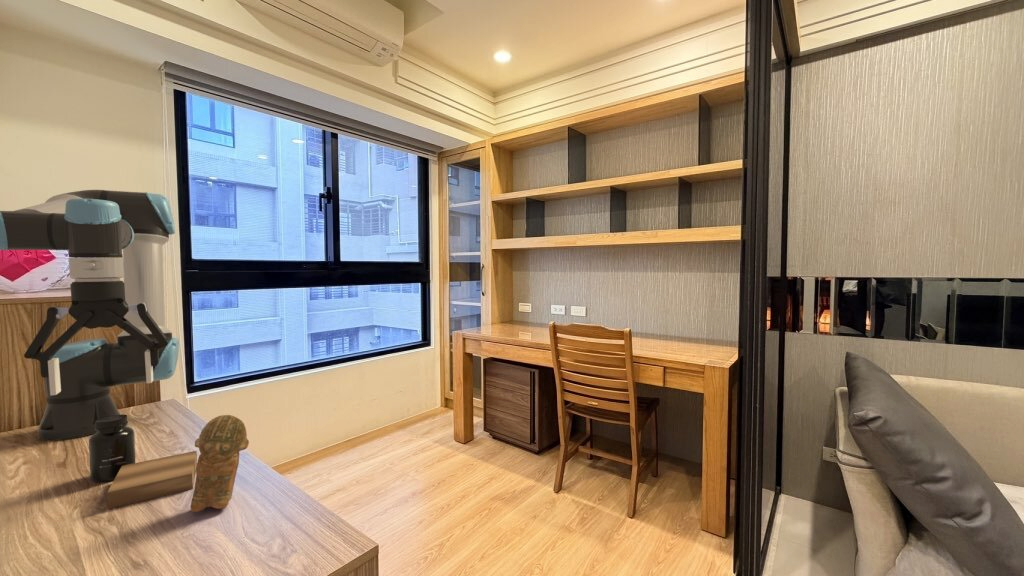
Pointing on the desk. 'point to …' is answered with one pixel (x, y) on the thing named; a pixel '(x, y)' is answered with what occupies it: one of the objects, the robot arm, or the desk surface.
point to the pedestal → (152, 479)
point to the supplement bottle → (110, 447)
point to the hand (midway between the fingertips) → (105, 387)
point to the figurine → (218, 461)
